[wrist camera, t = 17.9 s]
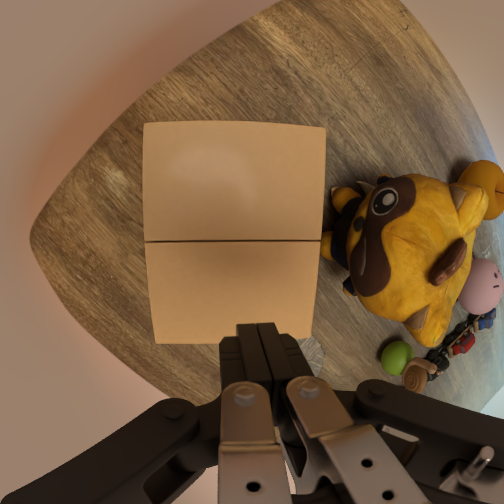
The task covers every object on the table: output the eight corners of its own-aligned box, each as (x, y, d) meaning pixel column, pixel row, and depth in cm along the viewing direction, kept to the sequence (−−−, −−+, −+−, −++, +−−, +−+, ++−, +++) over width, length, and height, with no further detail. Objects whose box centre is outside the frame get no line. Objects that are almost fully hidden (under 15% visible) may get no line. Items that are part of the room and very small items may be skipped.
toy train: (409, 366, 42) (424, 382, 37) (487, 291, 41) (504, 301, 36) (412, 376, 43) (427, 392, 38) (488, 305, 42) (504, 314, 37)
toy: (495, 254, 36) (516, 298, 29) (463, 283, 42) (479, 328, 35) (473, 235, 34) (498, 284, 27) (439, 269, 40) (456, 318, 33)
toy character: (287, 250, 33) (361, 329, 16) (355, 147, 31) (471, 137, 13) (380, 312, 37) (459, 385, 20) (434, 227, 35) (532, 262, 18)
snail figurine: (408, 328, 39) (454, 368, 28) (396, 361, 41) (435, 404, 29) (383, 330, 38) (428, 375, 27) (370, 364, 40) (408, 412, 28)
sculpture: (237, 396, 38) (240, 400, 31) (238, 338, 42) (241, 329, 35) (315, 394, 39) (334, 395, 32) (313, 338, 43) (331, 328, 36)
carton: (281, 288, 34) (310, 338, 23) (171, 290, 32) (155, 344, 21) (287, 142, 30) (326, 127, 19) (168, 140, 28) (143, 122, 17)
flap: (308, 335, 24) (310, 338, 23) (156, 340, 22) (155, 343, 21) (319, 240, 21) (320, 241, 21) (145, 241, 20) (144, 242, 19)
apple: (468, 149, 33) (509, 150, 24) (481, 198, 35) (521, 207, 27) (438, 172, 33) (483, 176, 24) (454, 224, 35) (495, 238, 27)
